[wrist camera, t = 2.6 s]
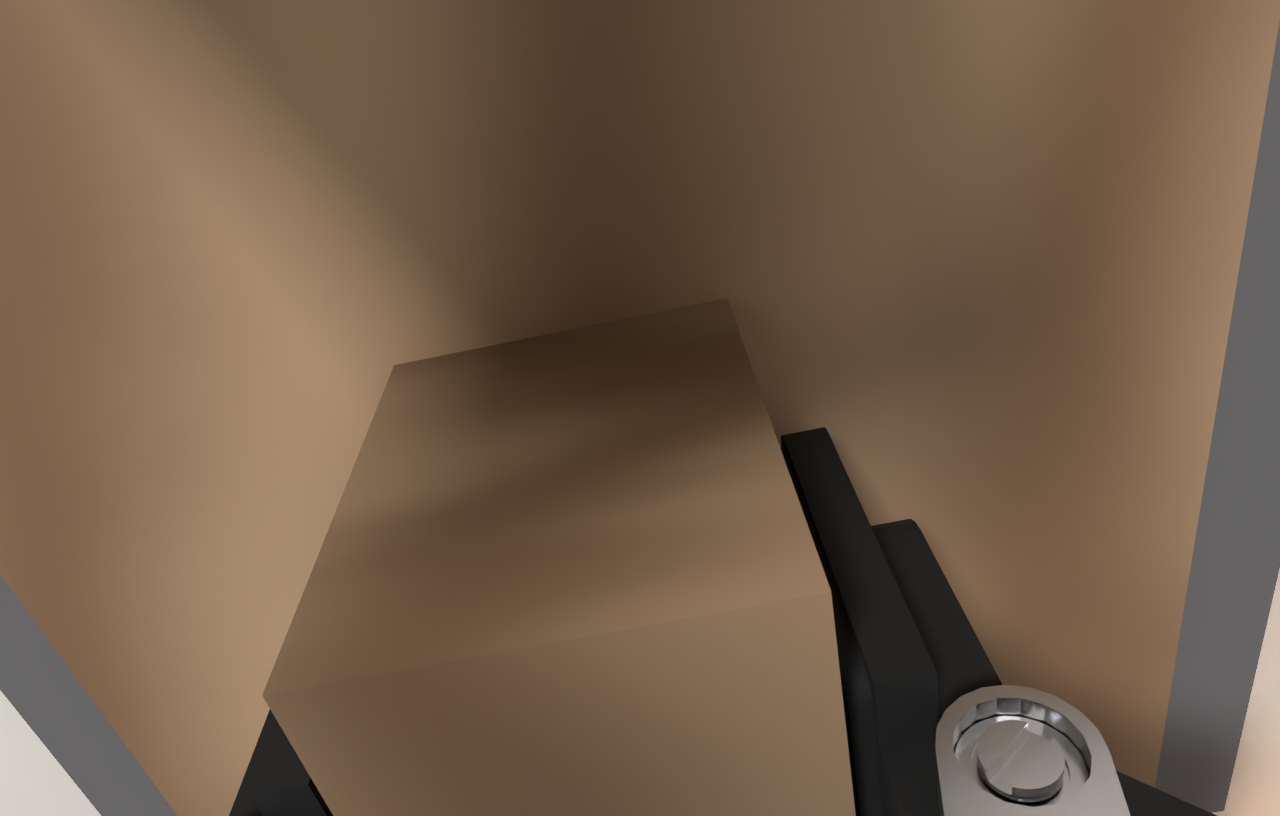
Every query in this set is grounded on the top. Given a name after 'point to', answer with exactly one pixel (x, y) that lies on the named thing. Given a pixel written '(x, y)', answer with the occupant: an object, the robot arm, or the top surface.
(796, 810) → the lid
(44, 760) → the top surface
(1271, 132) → the mat
